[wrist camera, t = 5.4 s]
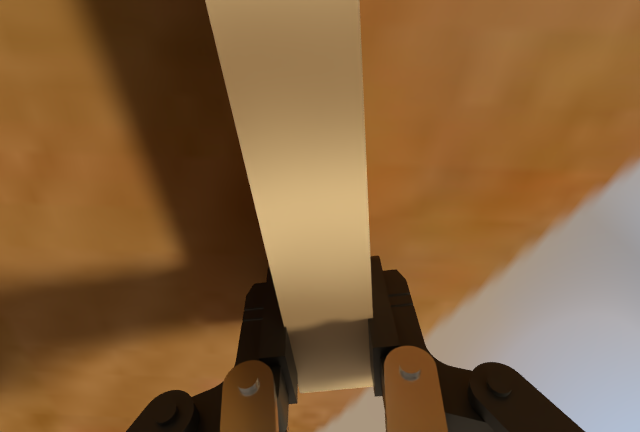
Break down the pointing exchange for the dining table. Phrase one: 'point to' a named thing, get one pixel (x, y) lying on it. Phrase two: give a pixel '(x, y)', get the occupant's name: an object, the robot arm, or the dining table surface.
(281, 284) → the beige bar
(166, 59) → the dining table surface
